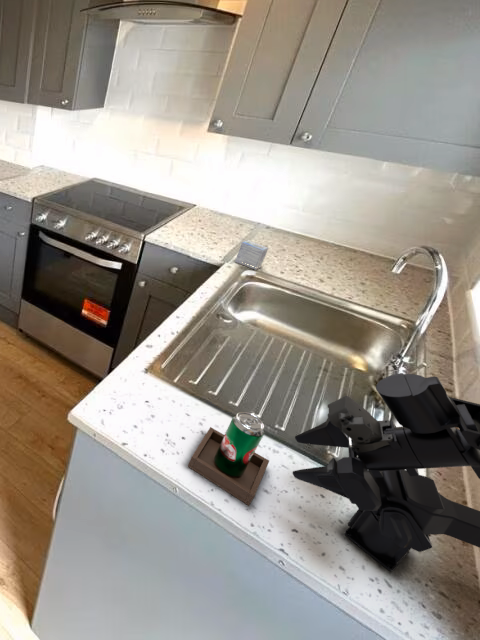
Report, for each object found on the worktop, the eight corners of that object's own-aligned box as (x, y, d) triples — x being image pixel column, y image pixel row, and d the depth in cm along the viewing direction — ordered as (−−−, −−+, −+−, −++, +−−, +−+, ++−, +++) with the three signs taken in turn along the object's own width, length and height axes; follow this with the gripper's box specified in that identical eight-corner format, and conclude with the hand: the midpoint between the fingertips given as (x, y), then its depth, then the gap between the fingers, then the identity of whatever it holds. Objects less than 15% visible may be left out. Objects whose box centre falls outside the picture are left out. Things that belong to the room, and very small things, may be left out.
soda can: (208, 454, 84) (228, 409, 78) (233, 455, 84) (256, 410, 78) (221, 477, 79) (244, 431, 74) (248, 479, 79) (273, 433, 74)
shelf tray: (264, 469, 82) (269, 460, 81) (249, 505, 75) (254, 496, 74) (206, 435, 88) (210, 426, 87) (187, 466, 82) (191, 456, 80)
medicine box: (260, 267, 163) (269, 247, 159) (255, 270, 161) (263, 249, 157) (239, 259, 169) (247, 239, 165) (234, 261, 167) (241, 241, 163)
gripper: (377, 367, 70) (273, 386, 81) (391, 439, 56) (263, 450, 67) (415, 426, 70) (306, 437, 80) (439, 513, 56) (303, 513, 67)
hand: (294, 456), depth 73 cm, fingers open, 9 cm apart
